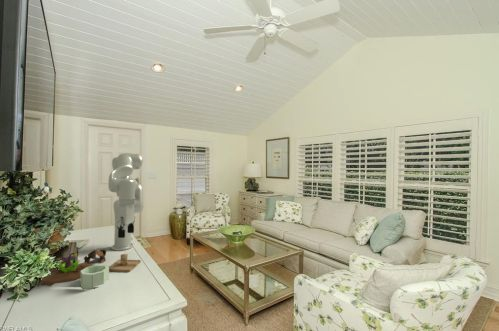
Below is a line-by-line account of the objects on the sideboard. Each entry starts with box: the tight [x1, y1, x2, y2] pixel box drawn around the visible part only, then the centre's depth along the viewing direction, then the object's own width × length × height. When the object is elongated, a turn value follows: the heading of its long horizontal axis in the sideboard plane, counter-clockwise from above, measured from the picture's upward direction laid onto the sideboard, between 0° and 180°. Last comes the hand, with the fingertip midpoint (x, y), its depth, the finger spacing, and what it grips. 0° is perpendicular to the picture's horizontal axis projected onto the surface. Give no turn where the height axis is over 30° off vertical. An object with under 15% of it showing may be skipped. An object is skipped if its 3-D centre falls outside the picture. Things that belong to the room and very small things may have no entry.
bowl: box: [79, 264, 110, 290], centre depth 110 cm, size 10×10×6 cm
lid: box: [108, 253, 141, 273], centre depth 126 cm, size 12×12×6 cm
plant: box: [40, 252, 94, 287], centre depth 118 cm, size 20×20×11 cm
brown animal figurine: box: [83, 248, 107, 264], centre depth 133 cm, size 12×10×8 cm
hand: (126, 235), depth 127 cm, fingers open, 9 cm apart
